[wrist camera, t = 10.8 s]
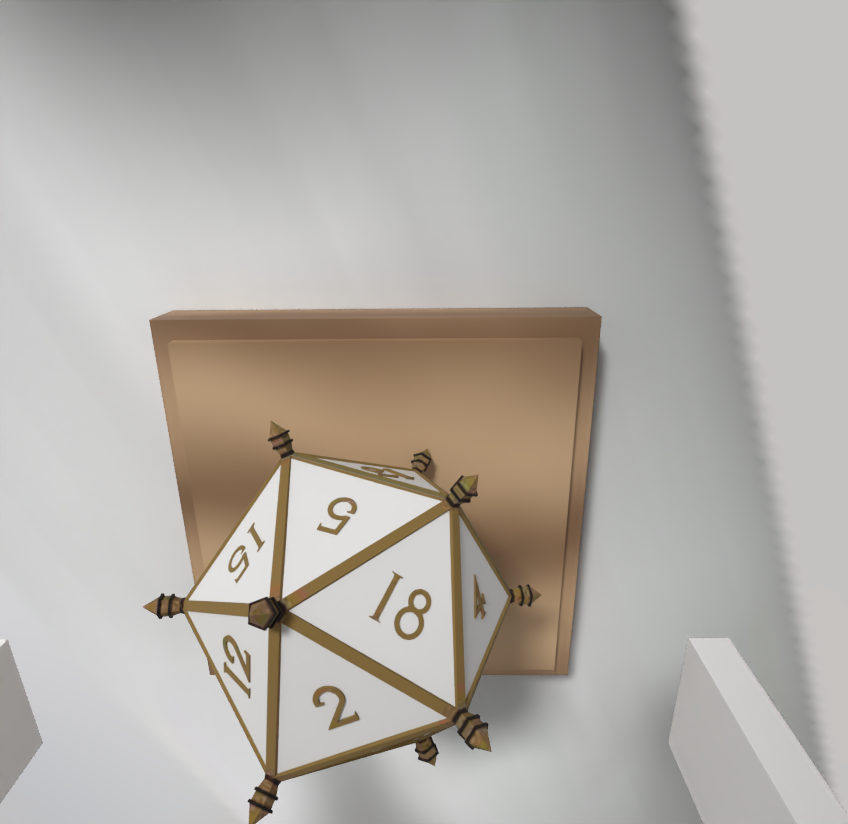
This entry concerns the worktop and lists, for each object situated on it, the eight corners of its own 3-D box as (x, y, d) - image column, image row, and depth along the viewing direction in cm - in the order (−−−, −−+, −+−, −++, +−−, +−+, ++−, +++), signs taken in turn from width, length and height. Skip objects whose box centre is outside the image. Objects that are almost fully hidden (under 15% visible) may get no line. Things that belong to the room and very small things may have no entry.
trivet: (172, 310, 18) (142, 322, 16) (587, 307, 18) (605, 319, 16) (224, 643, 22) (205, 683, 21) (558, 643, 22) (569, 683, 20)
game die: (431, 454, 22) (676, 609, 14) (301, 650, 21) (489, 919, 14) (239, 321, 15) (495, 472, 8) (49, 591, 15) (140, 1021, 7)
